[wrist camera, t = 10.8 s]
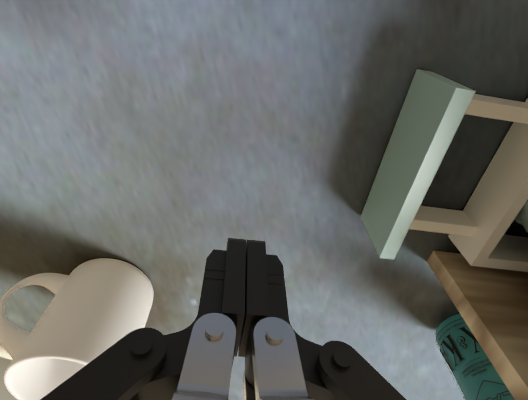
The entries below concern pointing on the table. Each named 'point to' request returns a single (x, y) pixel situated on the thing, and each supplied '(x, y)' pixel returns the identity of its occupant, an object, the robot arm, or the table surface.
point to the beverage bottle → (469, 362)
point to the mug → (73, 323)
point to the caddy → (427, 163)
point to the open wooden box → (491, 313)
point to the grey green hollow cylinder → (523, 216)
